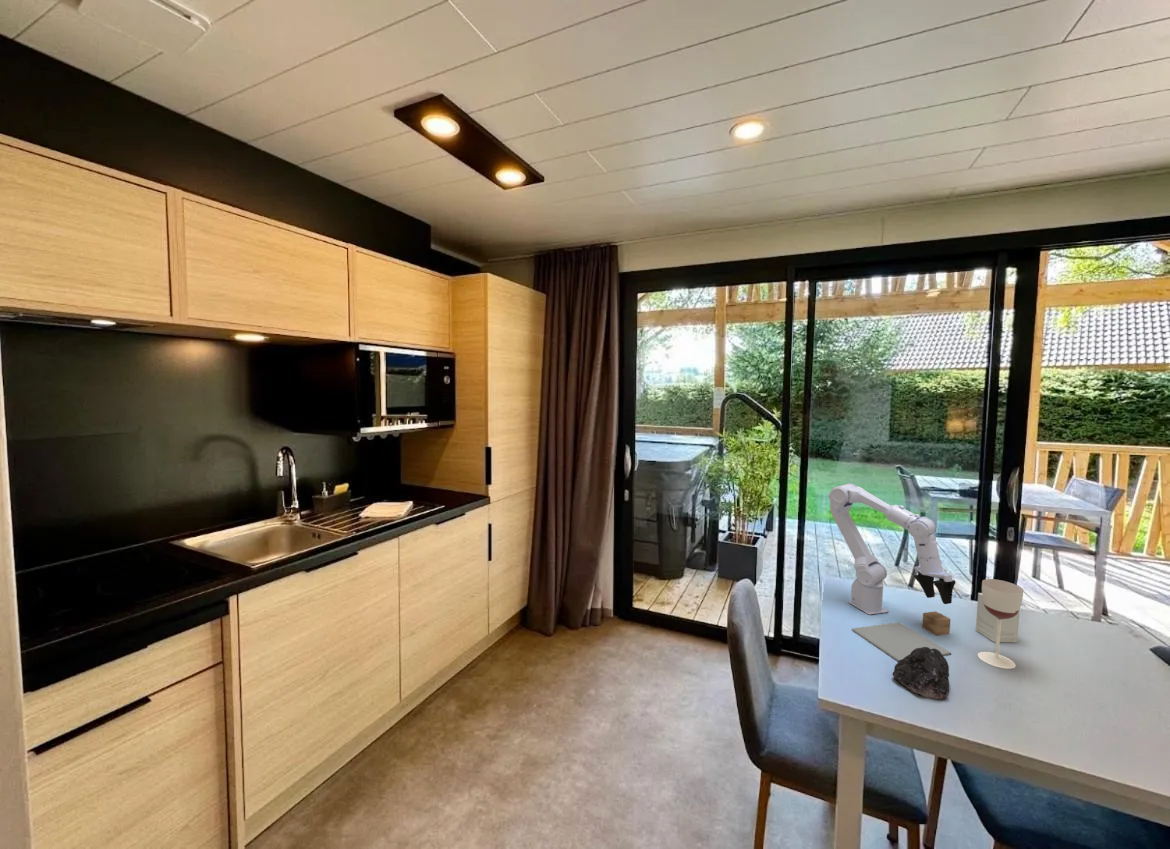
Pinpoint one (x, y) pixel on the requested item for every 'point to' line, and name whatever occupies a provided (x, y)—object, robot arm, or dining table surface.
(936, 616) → the walnut cube
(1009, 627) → the supplement box
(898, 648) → the grey mat
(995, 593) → the wineglass
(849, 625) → the dining table surface
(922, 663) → the dark grey rock
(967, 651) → the dining table surface
